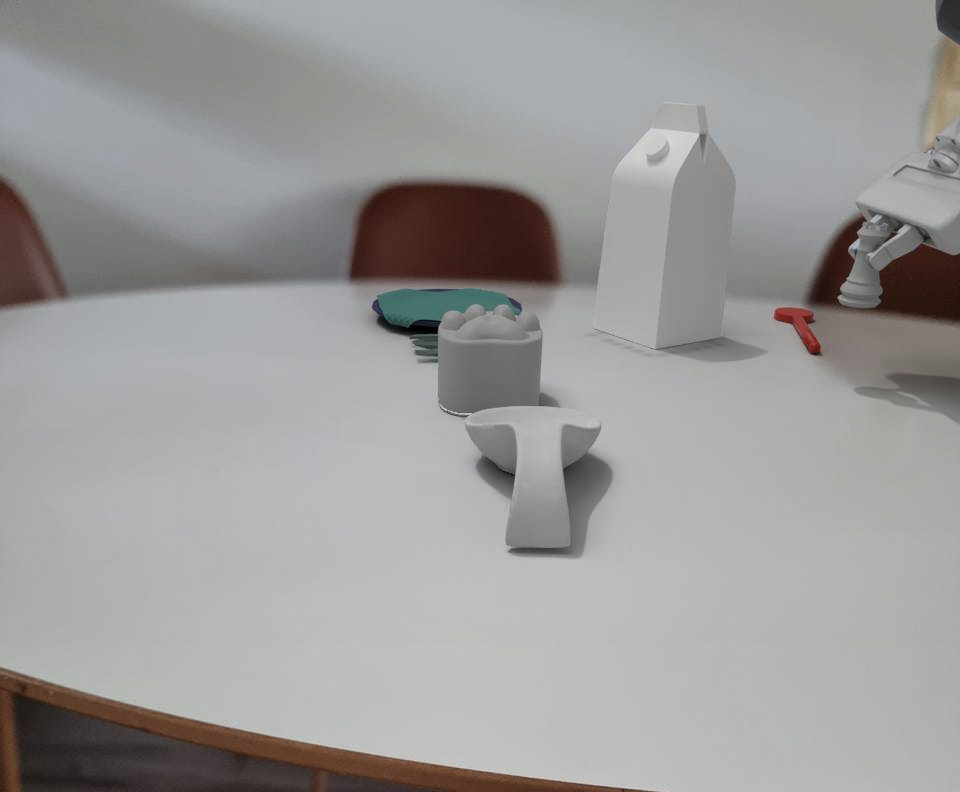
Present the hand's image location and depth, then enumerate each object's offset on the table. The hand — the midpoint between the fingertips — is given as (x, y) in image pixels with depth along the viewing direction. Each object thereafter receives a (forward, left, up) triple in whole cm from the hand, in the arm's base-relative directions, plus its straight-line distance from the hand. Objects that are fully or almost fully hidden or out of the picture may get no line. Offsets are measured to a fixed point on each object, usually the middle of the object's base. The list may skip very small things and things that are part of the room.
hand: (862, 260), depth 102 cm
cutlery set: (+45, -15, -13) cm, 50 cm away
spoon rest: (+31, +37, -13) cm, 49 cm away
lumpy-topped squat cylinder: (+37, +12, -13) cm, 42 cm away
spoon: (0, -22, -13) cm, 26 cm away
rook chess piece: (-1, 0, -5) cm, 5 cm away
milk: (+19, -19, -13) cm, 30 cm away
